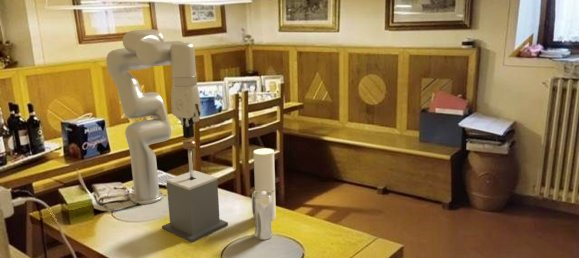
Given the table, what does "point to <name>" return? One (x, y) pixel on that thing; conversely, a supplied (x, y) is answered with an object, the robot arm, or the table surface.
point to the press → (193, 206)
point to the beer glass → (262, 213)
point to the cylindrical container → (265, 173)
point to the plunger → (190, 154)
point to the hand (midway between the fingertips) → (188, 137)
